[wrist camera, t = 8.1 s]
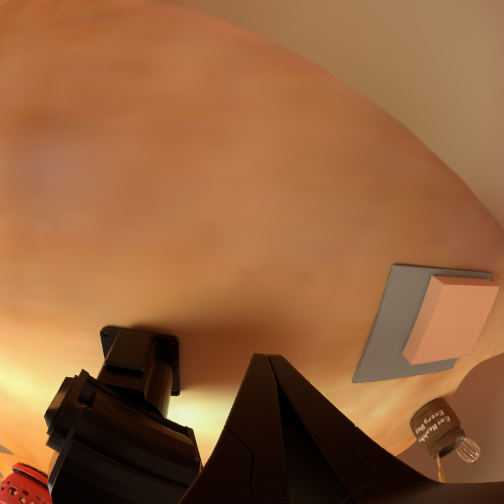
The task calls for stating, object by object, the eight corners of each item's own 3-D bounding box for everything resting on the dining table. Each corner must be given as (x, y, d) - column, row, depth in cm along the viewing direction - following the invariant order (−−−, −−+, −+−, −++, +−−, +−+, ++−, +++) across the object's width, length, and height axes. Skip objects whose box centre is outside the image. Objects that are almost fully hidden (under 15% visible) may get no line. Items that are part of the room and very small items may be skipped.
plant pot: (4, 449, 29) (-15, 492, 17) (63, 481, 31) (49, 529, 20) (17, 473, 32) (3, 510, 21) (68, 498, 35) (58, 538, 24)
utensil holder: (450, 400, 30) (491, 458, 18) (418, 430, 31) (452, 489, 20) (434, 393, 28) (480, 459, 17) (399, 425, 30) (435, 493, 18)
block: (401, 352, 24) (460, 344, 25) (410, 364, 22) (469, 354, 23) (430, 274, 21) (487, 278, 23) (443, 284, 20) (499, 286, 21)
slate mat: (450, 366, 27) (452, 368, 26) (351, 380, 25) (353, 383, 25) (490, 272, 23) (493, 274, 22) (392, 264, 21) (395, 265, 21)
